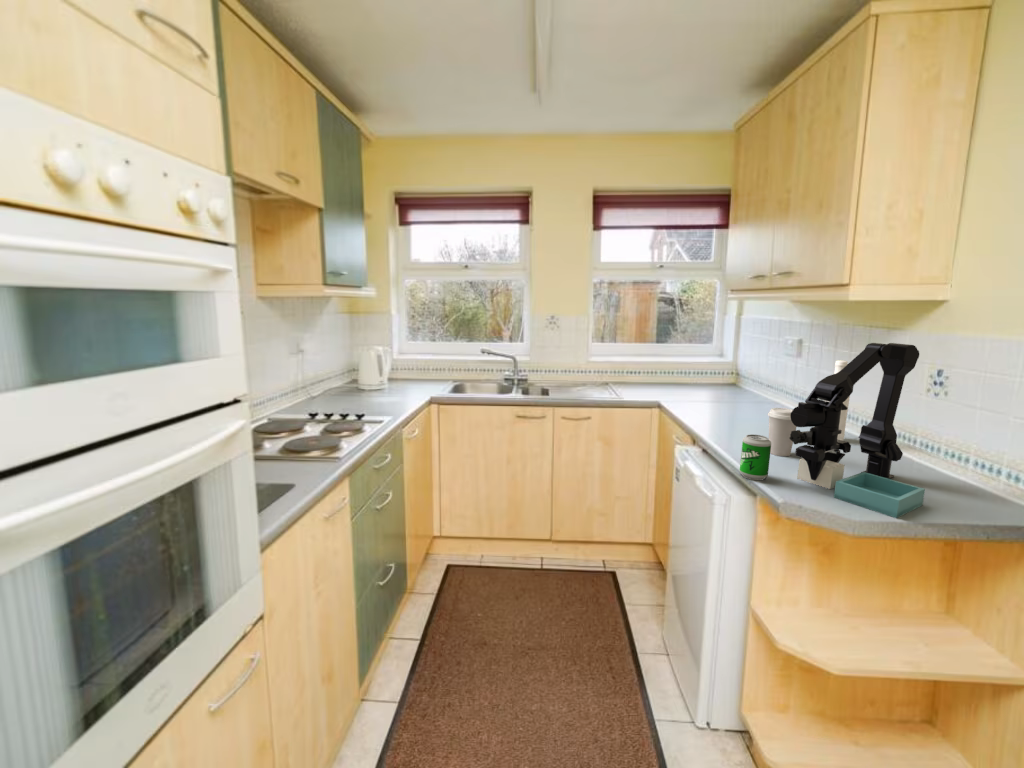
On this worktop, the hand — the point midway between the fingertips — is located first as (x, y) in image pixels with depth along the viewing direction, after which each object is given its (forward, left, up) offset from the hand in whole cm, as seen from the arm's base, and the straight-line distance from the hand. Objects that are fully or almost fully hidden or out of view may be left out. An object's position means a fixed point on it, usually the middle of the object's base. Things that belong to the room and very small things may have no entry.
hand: (819, 477), depth 140 cm
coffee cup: (-16, -21, -1) cm, 26 cm away
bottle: (-50, -21, -1) cm, 54 cm away
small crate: (0, 0, -1) cm, 1 cm away
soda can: (+13, -12, -1) cm, 18 cm away
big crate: (+1, +15, -1) cm, 15 cm away
